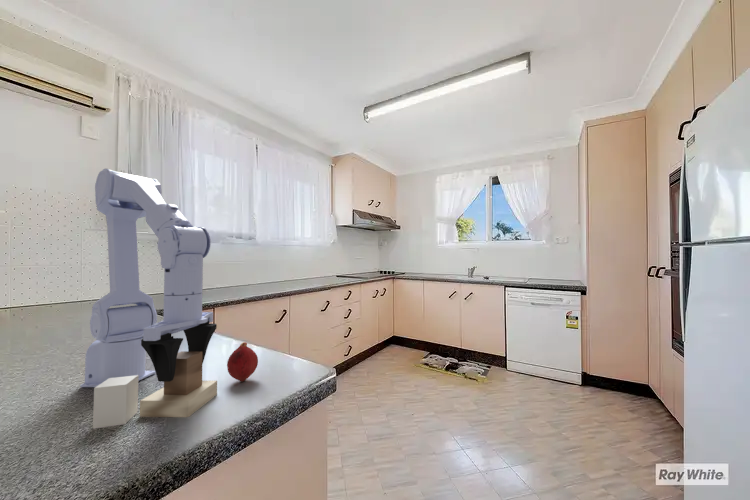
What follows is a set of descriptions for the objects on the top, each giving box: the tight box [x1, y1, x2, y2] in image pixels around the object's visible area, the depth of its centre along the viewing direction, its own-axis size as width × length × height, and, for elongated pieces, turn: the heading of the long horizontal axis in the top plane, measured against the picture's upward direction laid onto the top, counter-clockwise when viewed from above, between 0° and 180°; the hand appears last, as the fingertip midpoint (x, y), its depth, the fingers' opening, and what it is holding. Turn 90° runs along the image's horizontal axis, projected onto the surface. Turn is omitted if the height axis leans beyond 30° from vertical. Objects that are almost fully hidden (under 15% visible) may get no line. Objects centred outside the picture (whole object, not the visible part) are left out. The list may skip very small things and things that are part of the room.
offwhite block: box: [92, 375, 139, 429], centre depth 46 cm, size 4×4×6 cm
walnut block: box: [163, 350, 203, 395], centre depth 51 cm, size 4×4×6 cm
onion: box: [226, 341, 259, 383], centre depth 61 cm, size 6×6×8 cm
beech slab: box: [139, 380, 218, 418], centre depth 51 cm, size 8×8×3 cm
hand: (182, 371), depth 51 cm, fingers open, 7 cm apart
